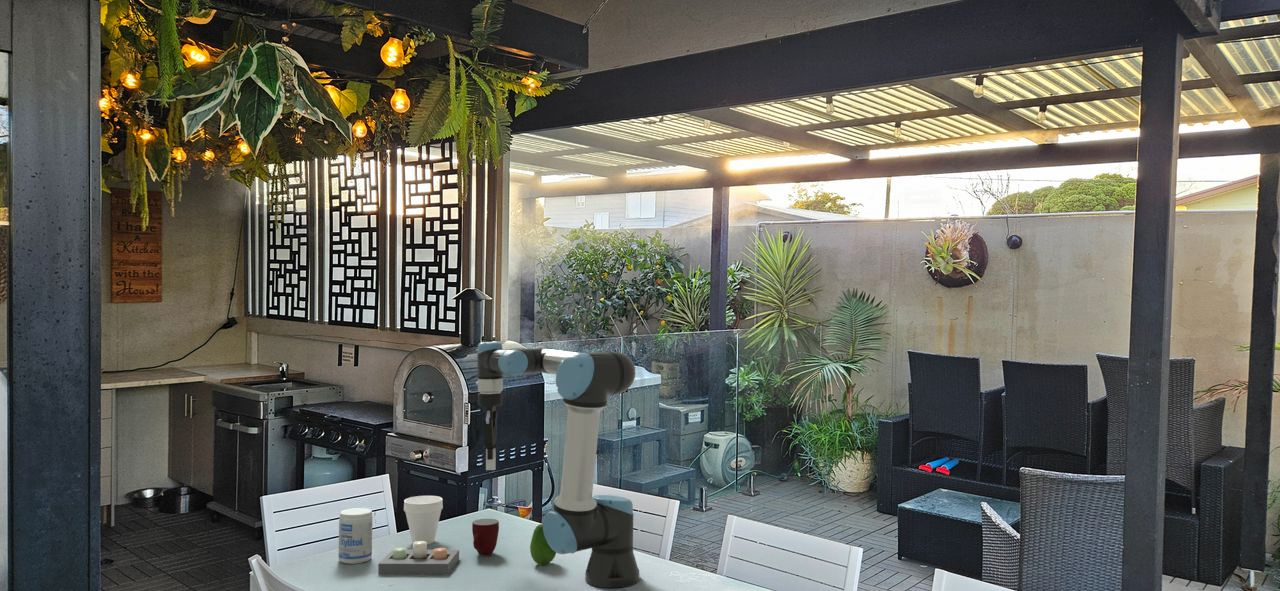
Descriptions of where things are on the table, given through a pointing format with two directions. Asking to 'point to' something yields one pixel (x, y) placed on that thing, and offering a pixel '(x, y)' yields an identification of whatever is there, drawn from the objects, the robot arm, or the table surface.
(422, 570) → the button panel
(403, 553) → the button sage
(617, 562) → the robot arm
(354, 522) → the supplement tub
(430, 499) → the cup
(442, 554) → the button terracotta
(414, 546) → the button cream
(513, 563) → the table surface
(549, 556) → the fruit
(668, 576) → the table surface
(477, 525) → the mug
